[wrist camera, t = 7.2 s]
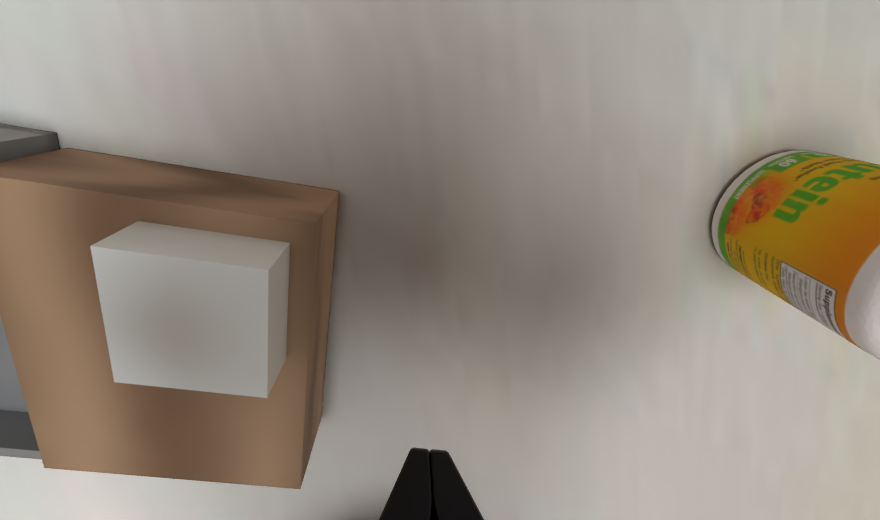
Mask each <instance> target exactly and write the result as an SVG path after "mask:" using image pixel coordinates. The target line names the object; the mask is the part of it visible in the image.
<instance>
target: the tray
mask: <svg viewBox="0 0 880 520" xmlns="http://www.w3.org/2000/svg"><path fill="white" fill-rule="evenodd" d="M56 150H60V149H59V144H58V139H57V134H56V133H54V132H48V131H42V130H36V129H30V128H23V127H17V126H11V125H5V124H0V162H3V161H8V160H12V159H17V158H22V157H27V156H32V155H36V154H41V153H46V152H51V151H56ZM0 456H10V457H21V458H33V459H42V458H41V454H40V451H39V447H38V444H37V440H36V437H35V434H34V430H33V427H32V423H31V420H30V416H29V413H28V410H27V406H26V403H25V399H24V396H23V392H22V389H21V385H20V382H19V379H18V375H17V372H16V368H15V365H14V361H13V358H12V355H11V351H10V348H9V344H8V341H7V337H6V334H5V331H4V327H3V324H2V320H1V317H0Z"/></svg>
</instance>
